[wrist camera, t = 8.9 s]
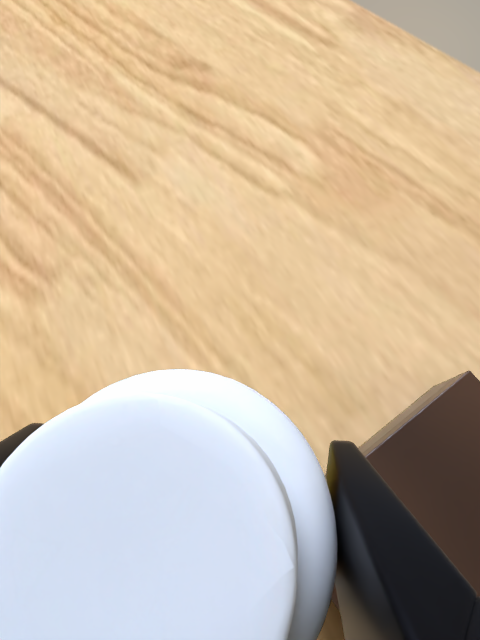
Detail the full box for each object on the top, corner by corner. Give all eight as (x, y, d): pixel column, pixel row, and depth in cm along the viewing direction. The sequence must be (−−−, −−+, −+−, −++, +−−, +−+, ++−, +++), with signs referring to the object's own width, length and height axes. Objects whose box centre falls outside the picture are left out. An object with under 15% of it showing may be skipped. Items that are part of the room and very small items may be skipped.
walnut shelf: (448, 755, 17) (499, 838, 14) (277, 514, 20) (279, 526, 17) (618, 587, 19) (707, 620, 15) (433, 385, 22) (469, 369, 18)
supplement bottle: (194, 384, 16) (81, 257, 6) (331, 467, 15) (459, 472, 5) (103, 528, 14) (-225, 657, 5) (246, 632, 13) (197, 1082, 4)
